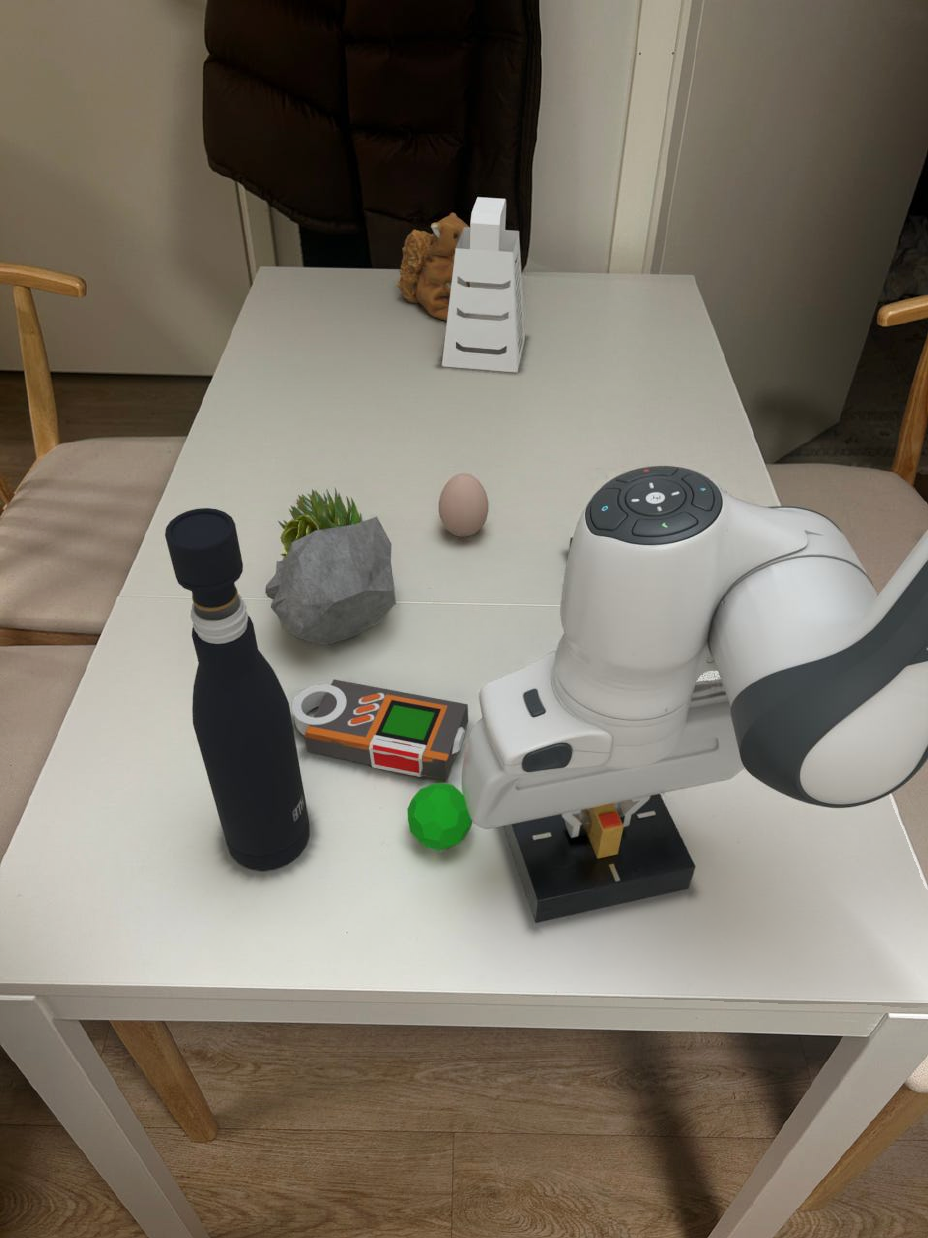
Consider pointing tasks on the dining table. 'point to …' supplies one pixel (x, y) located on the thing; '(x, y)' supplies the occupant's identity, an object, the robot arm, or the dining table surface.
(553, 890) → the block
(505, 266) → the grater
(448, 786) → the polyhedron
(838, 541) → the robot arm
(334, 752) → the electronic device
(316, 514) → the potted plant
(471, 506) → the egg
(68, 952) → the dining table surface
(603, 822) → the tap handle
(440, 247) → the stuffed squirrel
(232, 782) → the insulated water bottle
